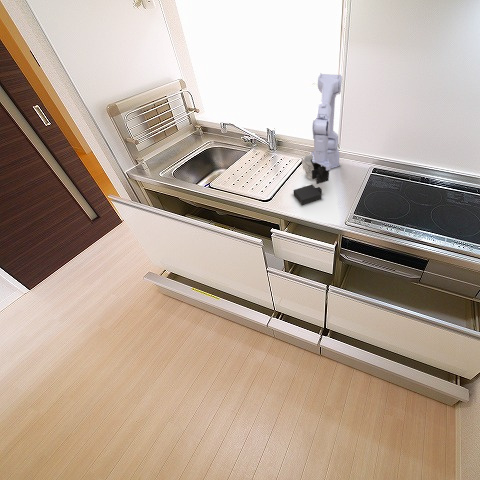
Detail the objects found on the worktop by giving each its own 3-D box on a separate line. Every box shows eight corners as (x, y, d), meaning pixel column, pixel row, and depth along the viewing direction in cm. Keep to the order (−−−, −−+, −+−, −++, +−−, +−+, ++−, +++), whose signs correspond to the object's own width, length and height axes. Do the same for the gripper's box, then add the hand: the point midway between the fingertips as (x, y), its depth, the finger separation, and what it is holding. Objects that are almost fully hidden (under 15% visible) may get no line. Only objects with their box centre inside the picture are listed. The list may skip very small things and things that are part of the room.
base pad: (315, 188, 127) (316, 183, 125) (325, 198, 122) (325, 192, 120) (293, 195, 123) (293, 189, 121) (302, 205, 118) (301, 200, 116)
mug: (297, 174, 136) (296, 156, 129) (308, 168, 140) (307, 150, 133) (312, 182, 131) (312, 164, 123) (324, 176, 135) (324, 158, 128)
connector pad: (323, 175, 123) (323, 167, 120) (328, 180, 120) (329, 172, 116) (311, 178, 121) (311, 170, 117) (317, 184, 117) (317, 175, 114)
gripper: (304, 143, 112) (305, 171, 122) (320, 158, 104) (320, 187, 113) (319, 140, 115) (318, 168, 125) (335, 154, 106) (334, 183, 116)
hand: (320, 177), depth 119 cm, fingers closed on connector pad, 5 cm apart
